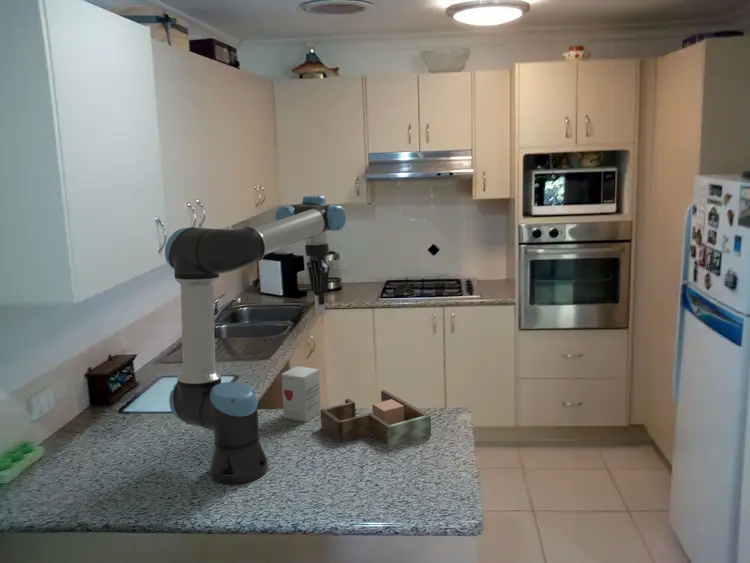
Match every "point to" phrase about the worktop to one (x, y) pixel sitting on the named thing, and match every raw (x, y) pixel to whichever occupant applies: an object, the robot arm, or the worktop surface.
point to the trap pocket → (344, 422)
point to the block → (389, 411)
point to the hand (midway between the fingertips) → (320, 313)
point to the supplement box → (301, 393)
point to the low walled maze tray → (398, 433)
